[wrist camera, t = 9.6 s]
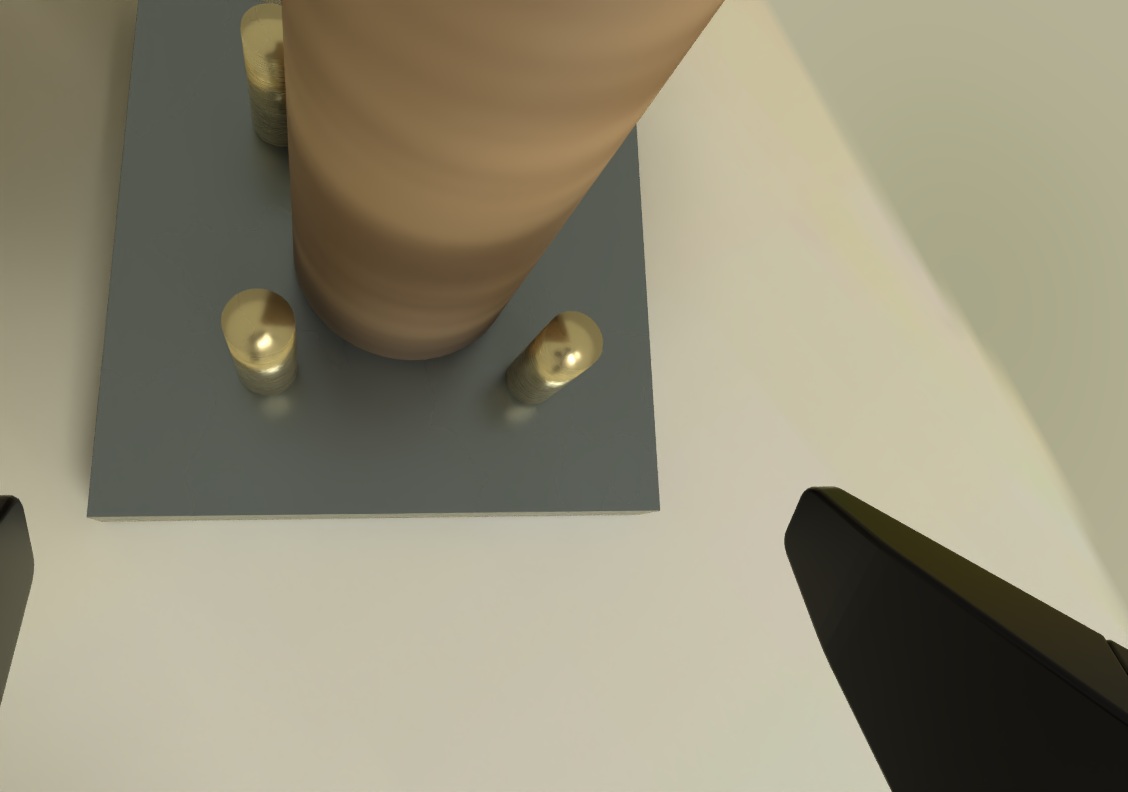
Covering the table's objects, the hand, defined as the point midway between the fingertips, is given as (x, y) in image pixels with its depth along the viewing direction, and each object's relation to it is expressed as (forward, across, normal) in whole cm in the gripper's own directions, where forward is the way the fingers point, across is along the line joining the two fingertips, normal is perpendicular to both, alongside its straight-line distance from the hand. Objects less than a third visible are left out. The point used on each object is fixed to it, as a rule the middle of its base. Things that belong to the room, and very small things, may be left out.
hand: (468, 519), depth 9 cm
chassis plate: (+11, 0, +2) cm, 11 cm away
